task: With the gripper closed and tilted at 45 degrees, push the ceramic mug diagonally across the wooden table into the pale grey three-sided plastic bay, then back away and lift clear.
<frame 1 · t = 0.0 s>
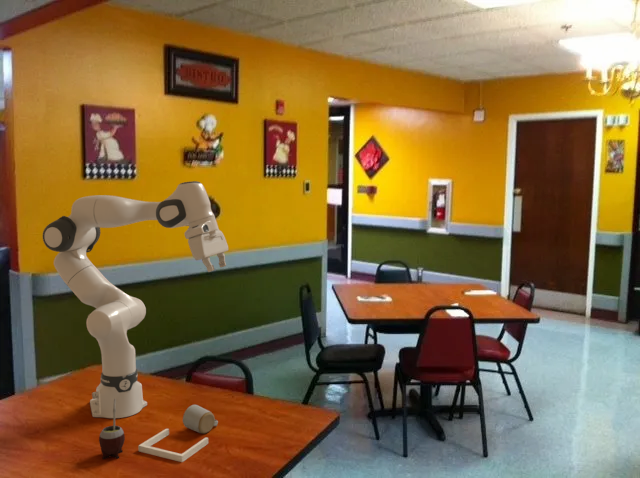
hand: (217, 269, 189), 52 cm above the table, tool tilted 20°, fingers open, 8 cm apart
ceramic mug: (202, 429, 190), on the table
mate gourd: (112, 455, 172), on the table
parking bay: (175, 446, 177), on the table
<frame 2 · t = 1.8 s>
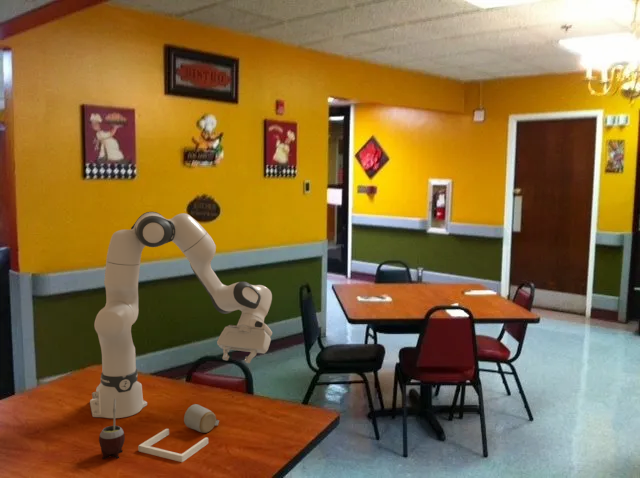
hand: (235, 360, 205), 17 cm above the table, tool tilted 45°, fingers open, 8 cm apart
nothing on the table moved.
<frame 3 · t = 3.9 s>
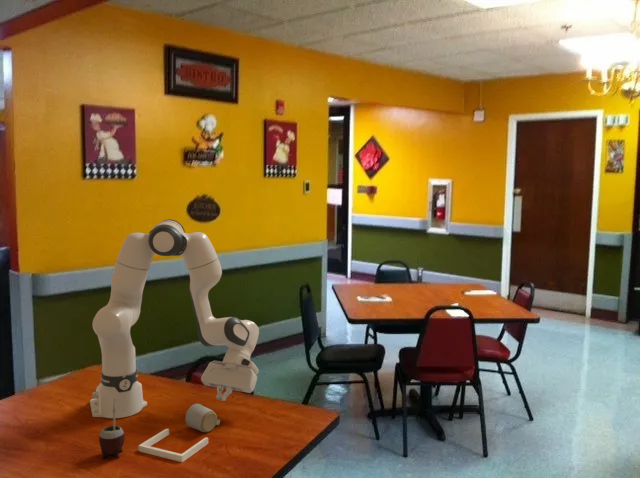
hand: (220, 399, 198), 6 cm above the table, tool tilted 45°, fingers closed
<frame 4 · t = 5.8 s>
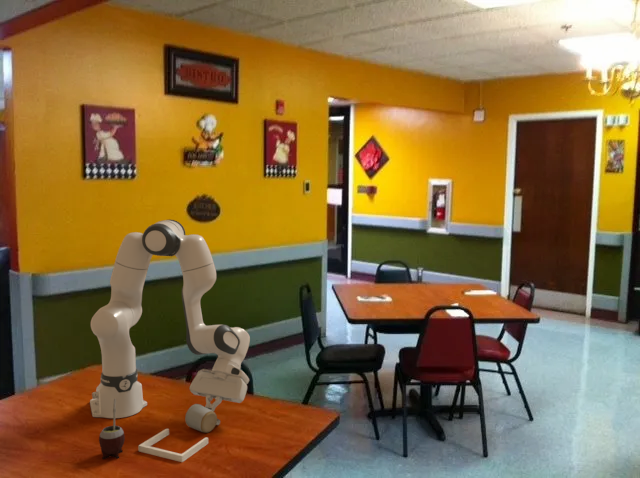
hand: (209, 409, 193), 5 cm above the table, tool tilted 45°, fingers closed
ceramic mug: (204, 428, 190), on the table, touching gripper
everything else where it was.
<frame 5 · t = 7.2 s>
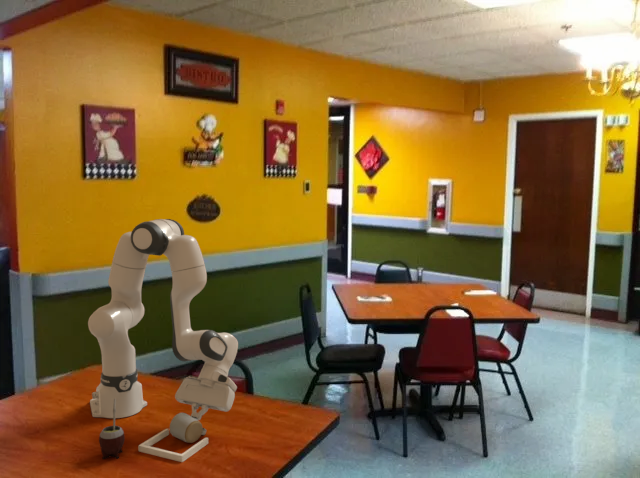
hand: (195, 418, 185), 5 cm above the table, tool tilted 45°, fingers closed
ceramic mug: (189, 438, 183), on the table, touching gripper
everything else where it was.
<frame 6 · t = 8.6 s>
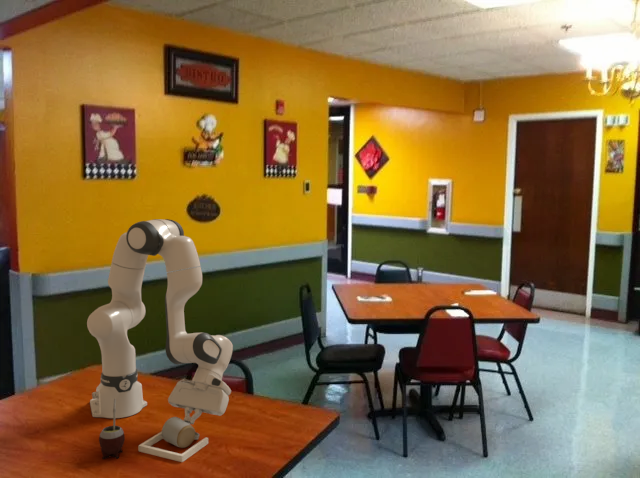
hand: (188, 423, 182), 5 cm above the table, tool tilted 45°, fingers closed
ceramic mug: (182, 443, 180), on the table, touching gripper
everything else where it was.
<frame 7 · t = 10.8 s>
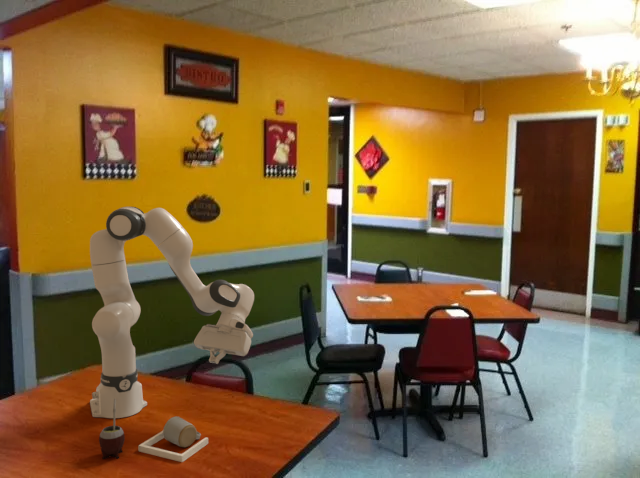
hand: (213, 362, 194), 20 cm above the table, tool tilted 45°, fingers closed
ceramic mug: (183, 442, 180), on the table
everything else where it was.
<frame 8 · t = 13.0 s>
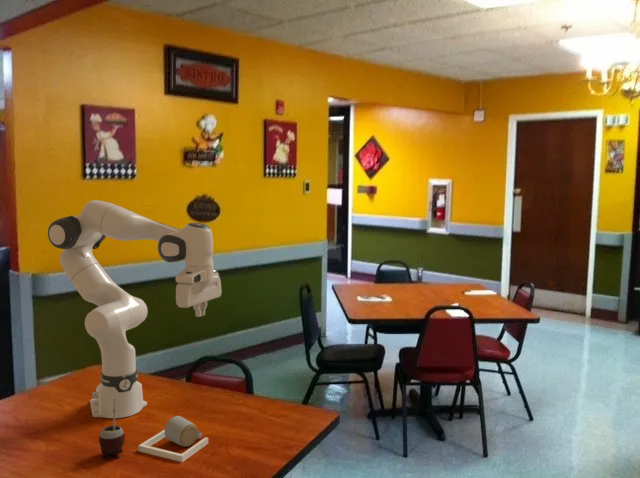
hand: (200, 315, 188), 37 cm above the table, tool pointing down, fingers closed
nothing on the table moved.
at the end: ceramic mug inside the target area on the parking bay (4.3 cm from its centre), point 0.0 cm above the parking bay's base; ceramic mug tilted 1°; mate gourd moved 0.2 cm from its start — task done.
